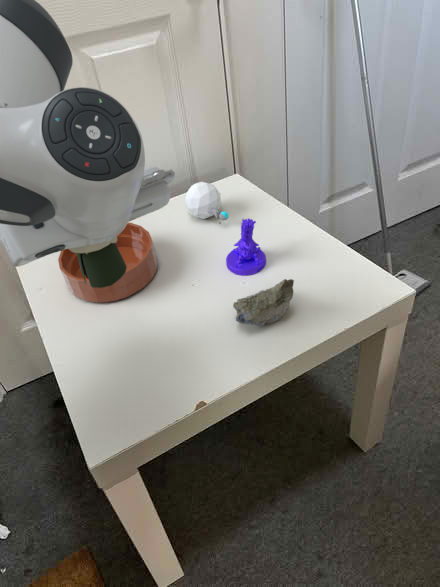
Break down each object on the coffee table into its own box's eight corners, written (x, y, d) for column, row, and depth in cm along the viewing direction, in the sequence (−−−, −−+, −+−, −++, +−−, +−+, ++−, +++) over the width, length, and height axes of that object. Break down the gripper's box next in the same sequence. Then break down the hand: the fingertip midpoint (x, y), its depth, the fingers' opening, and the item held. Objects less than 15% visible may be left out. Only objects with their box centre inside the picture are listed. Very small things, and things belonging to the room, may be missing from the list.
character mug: (63, 277, 67) (28, 200, 58) (100, 250, 71) (72, 175, 62) (113, 305, 61) (82, 225, 52) (150, 274, 65) (127, 195, 56)
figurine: (269, 275, 89) (274, 233, 82) (229, 279, 88) (230, 236, 81) (260, 250, 94) (264, 209, 87) (223, 253, 93) (223, 212, 86)
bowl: (75, 316, 85) (64, 293, 81) (64, 260, 98) (53, 238, 94) (168, 285, 88) (162, 261, 84) (145, 235, 101) (139, 212, 97)
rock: (274, 281, 84) (297, 272, 74) (288, 311, 84) (313, 306, 74) (221, 306, 81) (237, 300, 71) (235, 337, 81) (253, 335, 71)
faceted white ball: (208, 184, 107) (246, 206, 101) (189, 214, 107) (225, 238, 102) (192, 169, 100) (231, 192, 94) (171, 201, 101) (209, 226, 95)
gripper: (165, 141, 51) (148, 183, 64) (-21, 208, 45) (3, 240, 58) (190, 192, 51) (168, 224, 65) (8, 266, 45) (25, 285, 58)
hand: (88, 232), depth 61 cm, fingers closed on character mug, 7 cm apart
